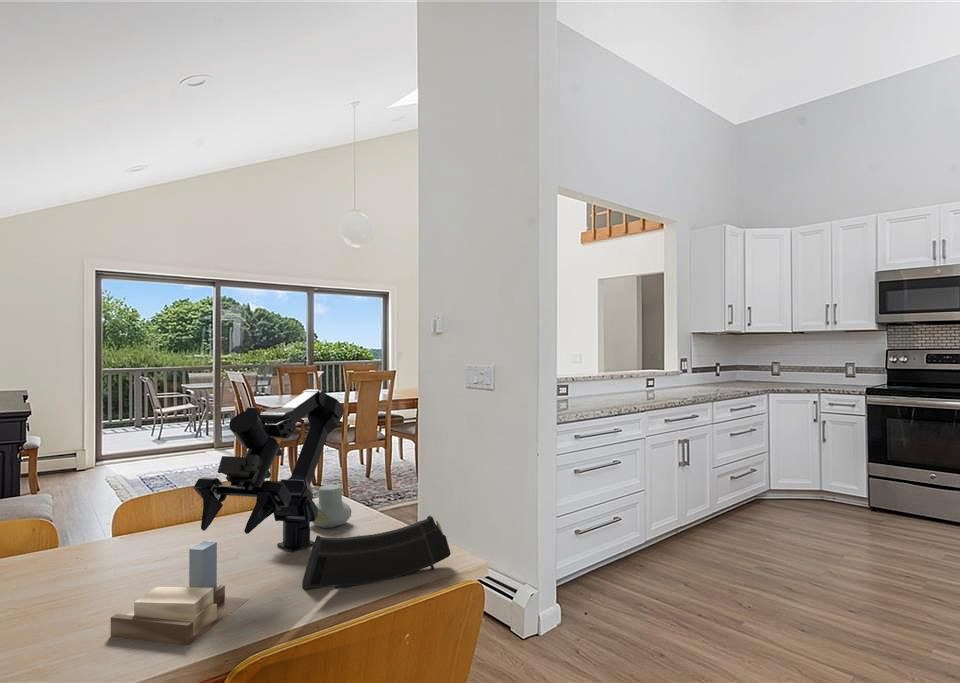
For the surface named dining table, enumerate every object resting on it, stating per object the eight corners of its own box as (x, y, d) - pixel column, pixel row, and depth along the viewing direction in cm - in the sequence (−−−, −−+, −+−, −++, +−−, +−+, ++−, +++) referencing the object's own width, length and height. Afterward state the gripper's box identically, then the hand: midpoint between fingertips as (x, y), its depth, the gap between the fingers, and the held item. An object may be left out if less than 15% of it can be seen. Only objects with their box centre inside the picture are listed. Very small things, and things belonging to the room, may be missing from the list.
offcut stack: (156, 611, 100) (157, 582, 100) (218, 617, 98) (218, 588, 98) (123, 632, 93) (123, 601, 93) (188, 639, 91) (189, 607, 91)
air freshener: (356, 523, 153) (356, 486, 153) (333, 532, 146) (333, 493, 146) (327, 517, 159) (327, 481, 159) (303, 525, 152) (304, 487, 152)
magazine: (291, 551, 108) (432, 487, 121) (288, 545, 111) (426, 484, 124) (318, 632, 110) (454, 561, 123) (314, 624, 113) (447, 556, 126)
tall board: (203, 598, 106) (204, 541, 106) (216, 599, 105) (216, 542, 105) (189, 608, 102) (189, 548, 102) (202, 609, 101) (202, 549, 101)
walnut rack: (182, 597, 108) (182, 576, 108) (249, 604, 105) (249, 582, 105) (110, 642, 92) (110, 617, 92) (187, 651, 89) (188, 625, 89)
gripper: (199, 437, 116) (159, 506, 105) (284, 440, 113) (251, 512, 102) (223, 468, 124) (188, 535, 113) (303, 472, 121) (274, 542, 110)
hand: (224, 531), depth 109 cm, fingers open, 9 cm apart
